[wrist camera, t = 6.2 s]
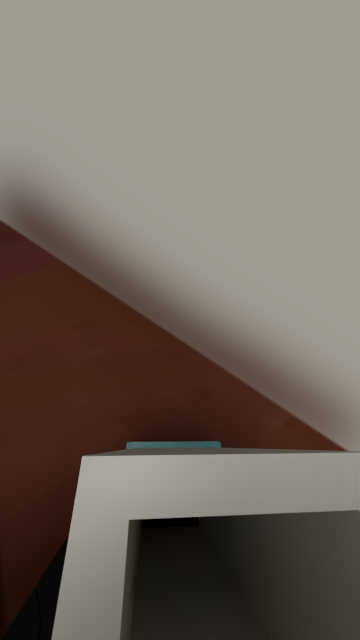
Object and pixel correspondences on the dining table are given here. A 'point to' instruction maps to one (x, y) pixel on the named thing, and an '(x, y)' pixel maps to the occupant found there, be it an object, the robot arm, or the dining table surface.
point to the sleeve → (213, 545)
